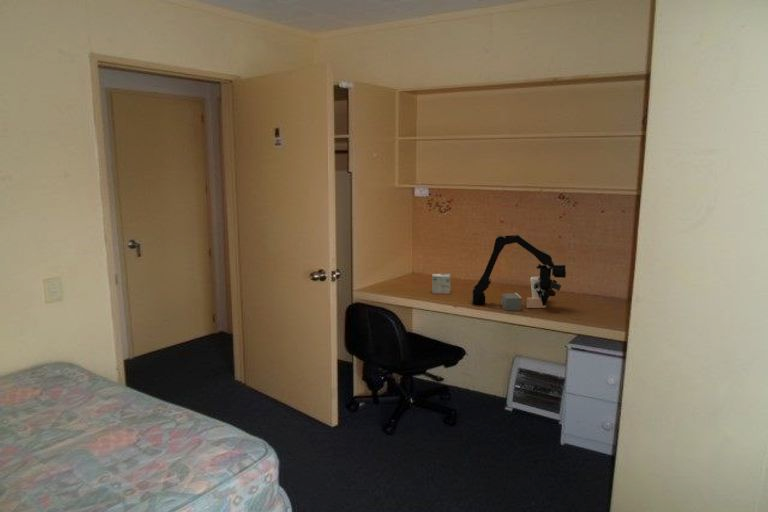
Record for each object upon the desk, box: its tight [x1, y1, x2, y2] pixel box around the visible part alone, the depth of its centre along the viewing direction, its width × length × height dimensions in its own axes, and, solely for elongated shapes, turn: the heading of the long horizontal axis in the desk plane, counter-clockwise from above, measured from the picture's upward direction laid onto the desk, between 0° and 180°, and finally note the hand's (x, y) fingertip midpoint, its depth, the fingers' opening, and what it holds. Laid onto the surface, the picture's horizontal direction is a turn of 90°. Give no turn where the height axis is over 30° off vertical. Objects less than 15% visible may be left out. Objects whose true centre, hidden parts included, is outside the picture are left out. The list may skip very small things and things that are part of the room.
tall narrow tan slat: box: [525, 297, 547, 309], centre depth 294 cm, size 10×2×5 cm, turn 92°
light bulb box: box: [431, 273, 451, 295], centre depth 326 cm, size 11×7×11 cm, turn 84°
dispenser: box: [500, 292, 523, 312], centre depth 293 cm, size 8×10×7 cm
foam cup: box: [529, 276, 539, 298], centre depth 307 cm, size 10×9×13 cm
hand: (543, 305), depth 294 cm, fingers closed on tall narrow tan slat, 2 cm apart
